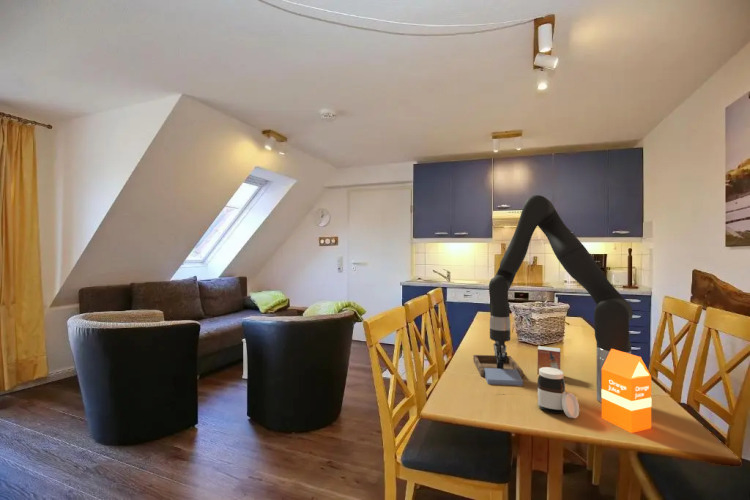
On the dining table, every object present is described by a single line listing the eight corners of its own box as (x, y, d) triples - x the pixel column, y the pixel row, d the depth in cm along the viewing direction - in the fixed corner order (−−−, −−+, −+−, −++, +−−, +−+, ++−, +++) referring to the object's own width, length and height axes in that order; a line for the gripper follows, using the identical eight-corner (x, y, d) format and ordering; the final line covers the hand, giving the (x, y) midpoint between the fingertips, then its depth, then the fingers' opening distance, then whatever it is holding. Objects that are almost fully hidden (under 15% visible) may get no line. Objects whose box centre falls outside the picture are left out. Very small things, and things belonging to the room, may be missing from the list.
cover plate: (522, 387, 125) (523, 381, 125) (487, 385, 127) (488, 379, 127) (516, 375, 134) (516, 369, 134) (483, 374, 136) (484, 367, 135)
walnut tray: (522, 380, 132) (522, 370, 132) (481, 378, 134) (481, 369, 134) (510, 364, 150) (510, 355, 150) (473, 362, 152) (473, 354, 152)
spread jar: (538, 399, 116) (538, 364, 116) (578, 406, 110) (578, 369, 110) (536, 415, 105) (536, 376, 105) (580, 423, 100) (580, 382, 100)
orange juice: (620, 413, 105) (620, 347, 105) (651, 428, 97) (652, 355, 97) (601, 418, 103) (600, 349, 103) (631, 433, 95) (631, 358, 94)
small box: (537, 376, 136) (537, 349, 136) (537, 371, 141) (537, 345, 141) (560, 379, 132) (560, 351, 132) (560, 374, 137) (560, 347, 137)
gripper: (514, 331, 129) (514, 378, 129) (505, 323, 142) (506, 366, 142) (493, 331, 130) (493, 378, 130) (486, 323, 143) (486, 365, 143)
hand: (500, 371), depth 136 cm, fingers closed
